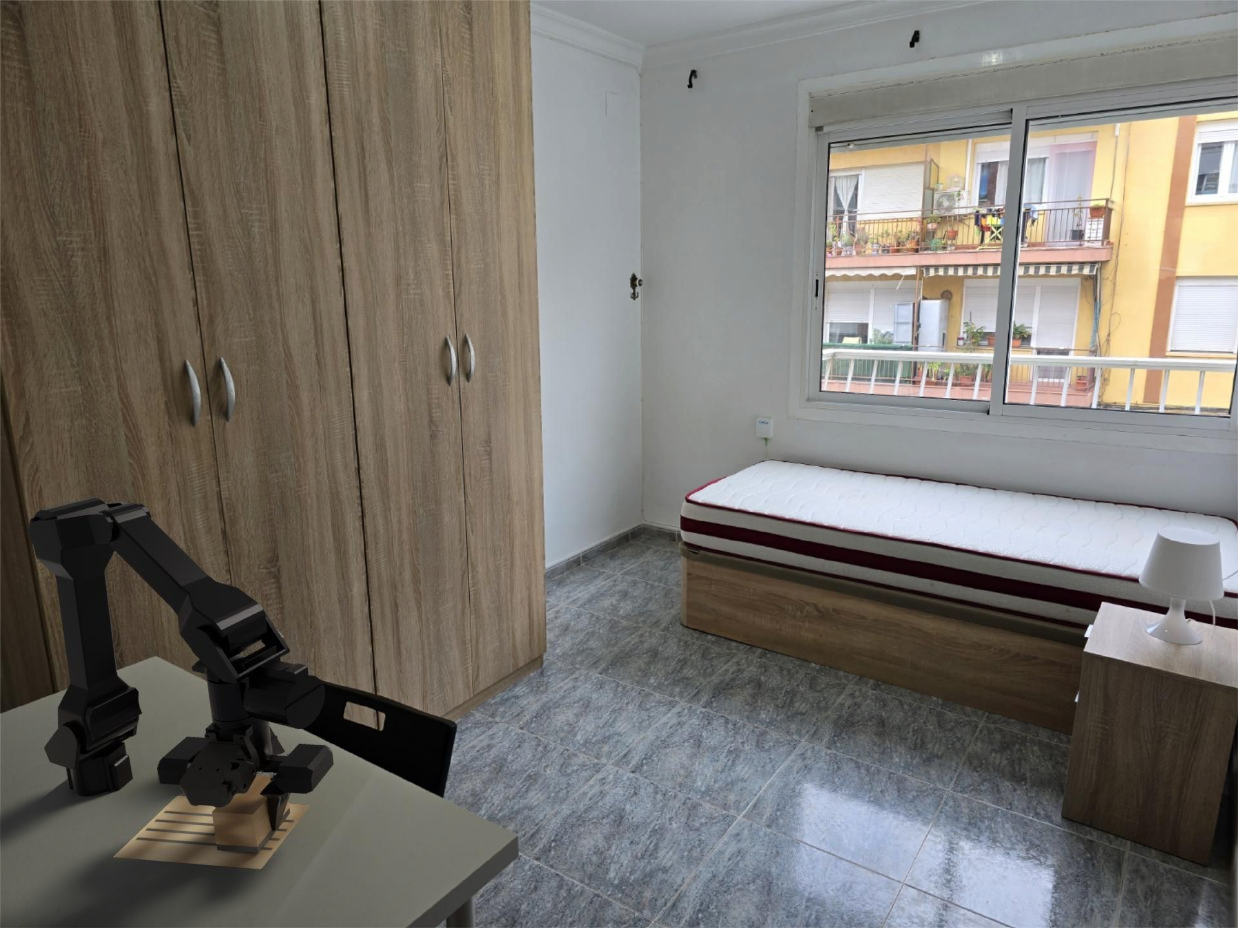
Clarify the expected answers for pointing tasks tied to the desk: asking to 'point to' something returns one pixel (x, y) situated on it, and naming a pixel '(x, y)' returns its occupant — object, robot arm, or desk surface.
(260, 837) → the block
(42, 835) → the desk surface
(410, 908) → the desk surface
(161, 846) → the pine board
